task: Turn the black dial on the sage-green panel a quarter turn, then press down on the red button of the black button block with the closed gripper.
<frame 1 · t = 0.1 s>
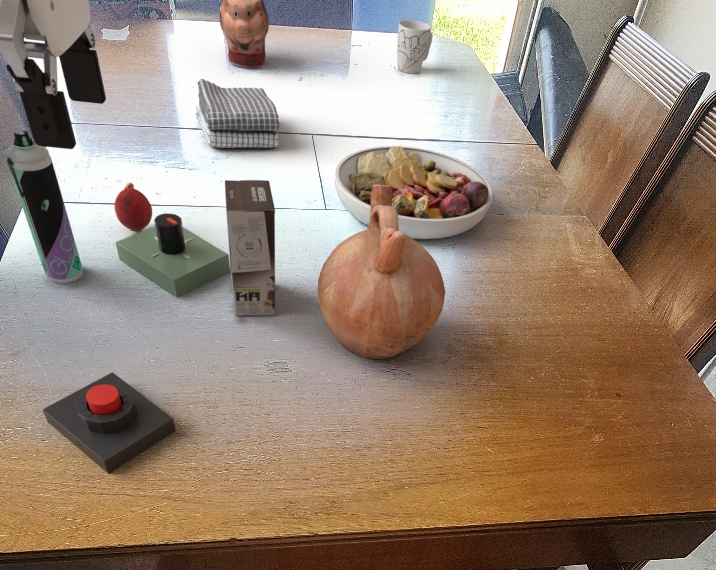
hand: (73, 122, 53), 33 cm above the table, tool pointing down, fingers open, 9 cm apart
spray can: (65, 274, 94), on the table
towel: (238, 134, 130), on the table
coffee box: (253, 300, 94), on the table
jug: (375, 336, 92), on the table
mug: (412, 70, 167), on the table
dial panel: (175, 265, 98), on the table
start button: (104, 399, 72), point 4 cm above the table, slide at 0.1 cm
dial: (170, 233, 93), point 5 cm above the table, hinge at 0.0°
red oval fruit: (137, 233, 103), on the table
pig figurine: (246, 61, 158), on the table
bowl: (409, 207, 118), on the table
button block: (112, 426, 75), on the table
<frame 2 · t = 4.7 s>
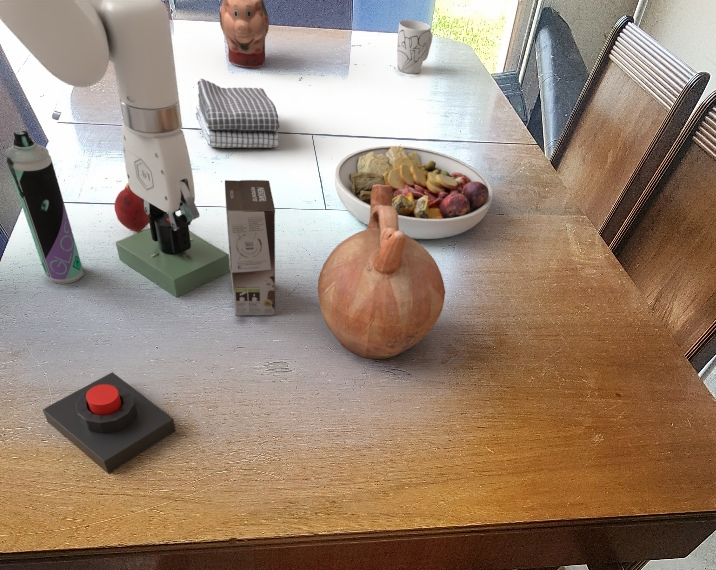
hand: (171, 243, 95), 4 cm above the table, tool pointing down, fingers closed on dial, 4 cm apart
dial: (170, 233, 93), point 5 cm above the table, hinge at -0.2°, touching gripper
everything else where it was.
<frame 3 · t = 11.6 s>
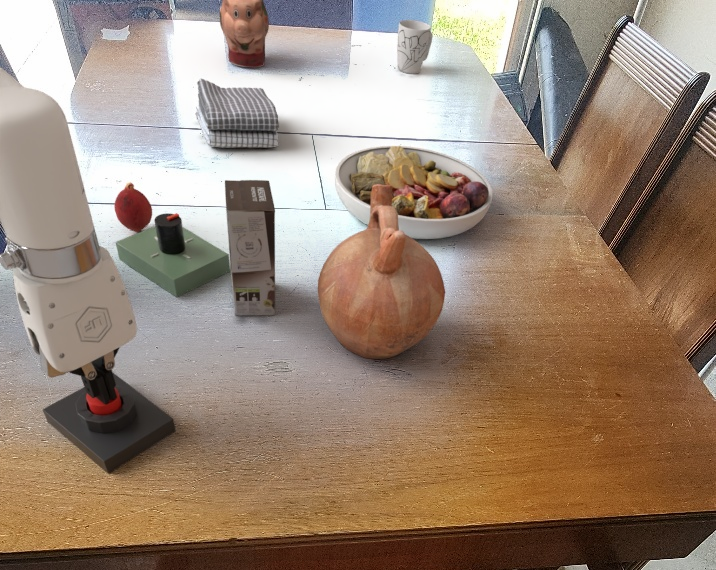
hand: (103, 395, 71), 5 cm above the table, tool pointing down, fingers closed
start button: (104, 400, 72), point 4 cm above the table, slide at 0.0 cm, touching gripper
dial: (170, 233, 93), point 5 cm above the table, hinge at 90.9°
everything else where it was.
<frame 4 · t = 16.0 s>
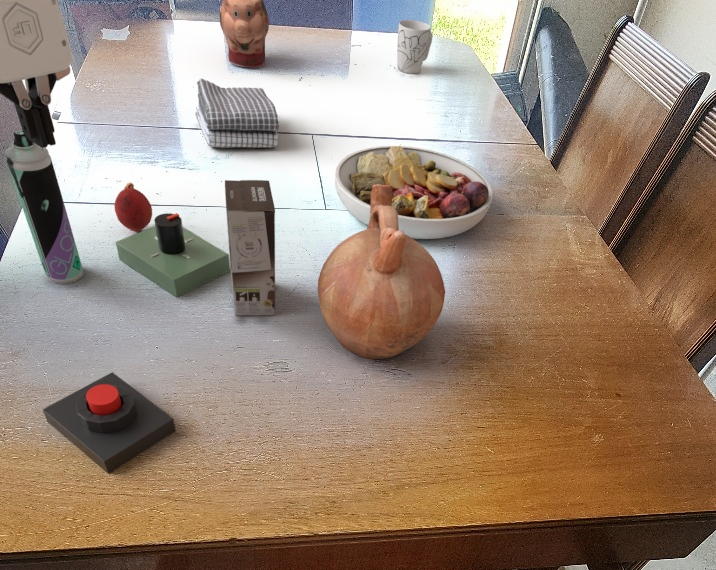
hand: (42, 141, 70), 23 cm above the table, tool pointing down, fingers closed
start button: (104, 399, 72), point 4 cm above the table, slide at 0.1 cm
everything else where it was.
at the end: dial at +91° (first picture: +0°); start button pushed in 1.1 cm at the most during the clip, back to where it started at the end; start button slide at 0.1 cm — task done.
